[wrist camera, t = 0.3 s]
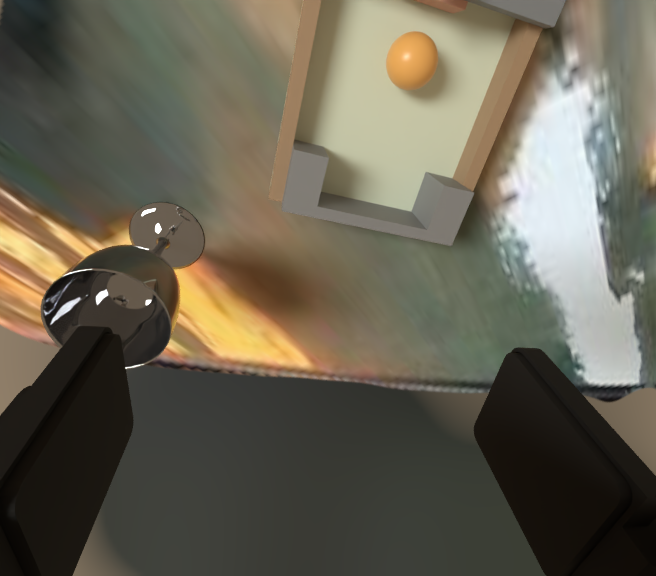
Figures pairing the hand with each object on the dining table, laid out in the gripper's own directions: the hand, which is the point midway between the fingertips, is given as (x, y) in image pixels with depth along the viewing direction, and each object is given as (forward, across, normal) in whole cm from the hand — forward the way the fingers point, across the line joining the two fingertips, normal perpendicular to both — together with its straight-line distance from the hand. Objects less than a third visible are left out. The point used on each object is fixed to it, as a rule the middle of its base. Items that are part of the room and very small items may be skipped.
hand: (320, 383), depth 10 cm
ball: (+27, -8, -8) cm, 30 cm away
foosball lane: (+30, -8, -6) cm, 32 cm away
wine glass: (+30, +12, +10) cm, 34 cm away
